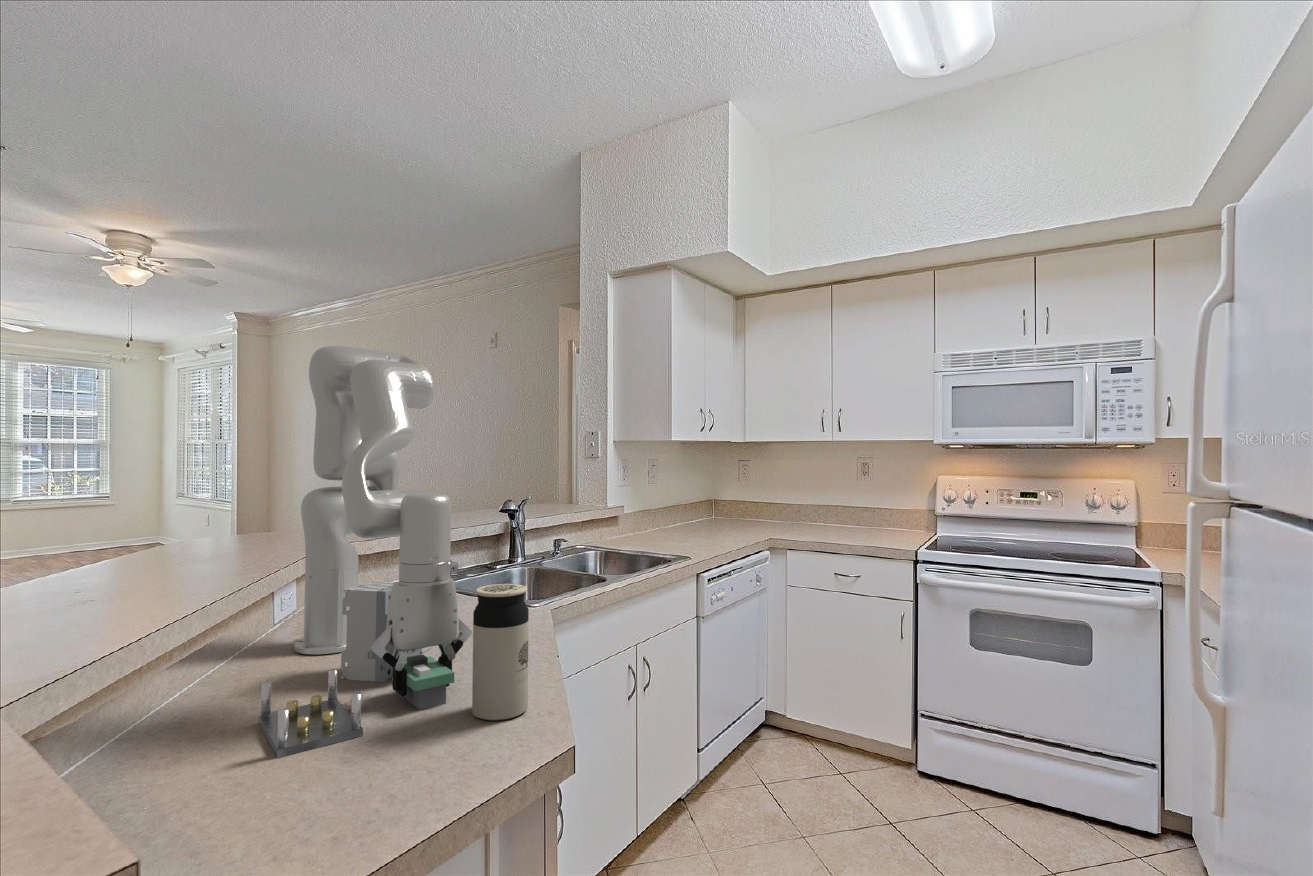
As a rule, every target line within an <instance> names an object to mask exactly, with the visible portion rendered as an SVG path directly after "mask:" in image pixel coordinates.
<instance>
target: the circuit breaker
mask: <svg viewBox="0 0 1313 876" xmlns="http://www.w3.org/2000/svg"><path fill="white" fill-rule="evenodd" d="M393 583H394V582H391V581H388V582H387V581H369V582H365V583H363V584H362V583H361V584H360V585H358V586H355V587H352V588H348V589H345V590H344V592H345V598H344V599H343V602H342V615H347V638H346V650H344V651H341V652H340V654H341V656H340V658H341V659H340V665H341V666H340V670H341V671H342V675H341V676H340V679H341V680H344V679H347V680H352V681H365V682H378V683H384V682H387V681H389V680H390V679H391V678H392V675H393V673H392V670H393V667H392V666H390V665H389V664H388V663H387V662H385V661H384V660H383V659H382V658H380V657H379V656H378V655H376V654H375V653H374V652H372V651H371V649H370V648H371V646H372V645H373V644H374V642H375V641H376V640H377V639H378V638H379V637H380V636H381V634H382V633H383V632H384V631H385V630H386V624H387V614H388V607H389V600H390V594H391V590H392V586H393ZM346 606H348V607H349V610H348V611H346ZM433 647H434V646H431V647H426V648H421V649H415V650H410V652H409V654H408V657H410V656H415V655H420V654H424V653H425V652H427V651H430V650H432V649H433ZM385 650H386V651H387V652H389V653H390V654H391V655H393V652H394V650H395V648H394V646H393V645H389V644H387V645H386V646H385ZM406 661H407V659H406ZM346 664H347V666H346Z"/></svg>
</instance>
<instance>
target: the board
mask: <svg viewBox="0 0 1313 876" xmlns="http://www.w3.org/2000/svg"><path fill="white" fill-rule="evenodd" d="M404 668H405V669H406V670H407V679H406V685H407V686H409V687H410V688H411V689H412V690H413V691H418V690H423V689H427V688H432V687H436V686H440V685H445V684H449V685H450V684H452V683H455V671H453V669H452V670H450V669H449V668H447V667H446V666H444V665H442V664H441V663H439V662H438V659H435V657H432V656H431V655H429V656H426V655H425V654H424V653H422V654H420V655H415V656H410V657H407V661H406V662H405V664H404ZM392 673H393V670H392Z"/></svg>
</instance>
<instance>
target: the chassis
mask: <svg viewBox="0 0 1313 876" xmlns="http://www.w3.org/2000/svg"><path fill="white" fill-rule="evenodd" d="M327 674H328V675H327V677H328V678H327V679H328V682H327V700H323V701H322V695H320V694H317V695H312V696H311V697H310V703H309V704H304V705H300V706H299V700H296V699H294V700H288V701H287V702H286V707H284V708H280V709H278V710H277V711H272V712H271V707H272V681H264V682H262V683H261V685H260V689H261V690H260V691H261V692H260V714H259V715H258V724H259V725H260V728H261V730H262V731H263V733H264V735H265V738H266V739H267V740H268V741H267V742H268V743H269V745H270V747H271V749H272V751H273V752H274V754H275V757H276V759H279V758H283V757H287V756H290V755H294V754H298V753H301V752H302V753H303V752H306V751H310V750H313V749H317V748H321V747H324V746H328V745H332V744H337V743H340V742H345V741H348V740H352V739H356V738H360V737H363V736H364V728H363V726H362V692H361V691H360V692H358V691H357V692H354V693H352V694H351V706H350V707H351V711H350V712H351V713H350V712H349V710H347V709H346V707H345V706H344V705H343V704H342V702H340V701H339V699H338V669H337V668H333V669H329V670H328V673H327Z"/></svg>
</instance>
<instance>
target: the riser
mask: <svg viewBox="0 0 1313 876" xmlns="http://www.w3.org/2000/svg"><path fill="white" fill-rule="evenodd" d="M403 698H404V699H406V700H407V701H408V702H410V704H412V705H413V706H414V707H416V708H417V709H418V711H421V710H426V709H429V708H435V707H437V706H441V705H445V704H447V687H446V684H445V685H440V686H436V687H432V688H427V689H423V690H418V691H413V690H412V689H411V688H410V687H409V686H407V695H405V696H404V697H403Z"/></svg>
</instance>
